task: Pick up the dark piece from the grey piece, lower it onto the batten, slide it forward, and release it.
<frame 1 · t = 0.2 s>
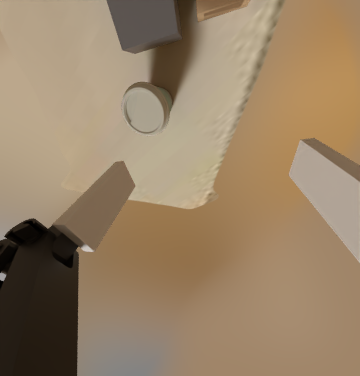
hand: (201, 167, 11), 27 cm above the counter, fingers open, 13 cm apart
coffee cup: (160, 102, 33), on the counter
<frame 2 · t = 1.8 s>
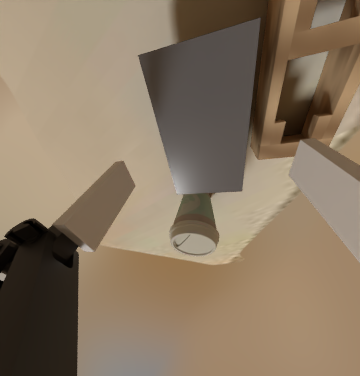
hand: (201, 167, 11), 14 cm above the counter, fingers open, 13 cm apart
coffee cup: (196, 195, 32), on the counter
batten: (305, 26, 14), on the counter
dark piece: (203, 118, 21), on the counter, touching grey piece
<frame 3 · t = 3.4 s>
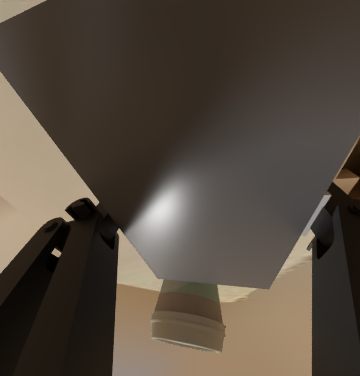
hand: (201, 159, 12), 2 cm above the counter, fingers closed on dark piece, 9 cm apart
coffee cup: (193, 239, 24), on the counter
dark piece: (201, 152, 13), on the counter, touching grey piece, gripper
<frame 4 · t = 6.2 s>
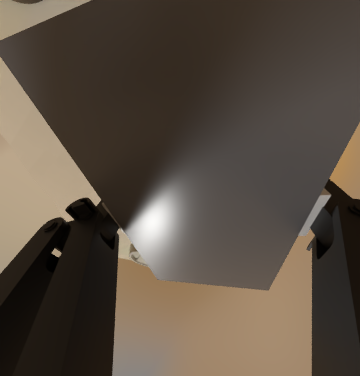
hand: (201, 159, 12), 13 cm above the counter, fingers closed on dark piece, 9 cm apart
coffee cup: (160, 215, 39), on the counter
dark piece: (202, 154, 14), point 11 cm above the counter, touching gripper
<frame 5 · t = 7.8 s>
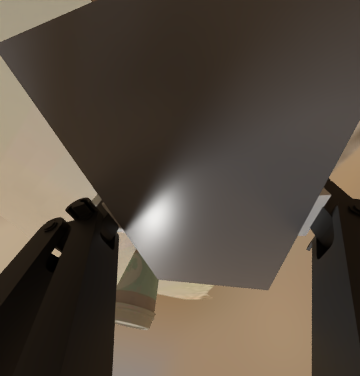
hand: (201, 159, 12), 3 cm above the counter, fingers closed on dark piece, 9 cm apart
coffee cup: (149, 250, 32), on the counter
dark piece: (202, 154, 14), point 1 cm above the counter, touching gripper
when the fingers open (3 cm above the counter, at t = 9.2 s): dark piece stays where it is, resting on batten.
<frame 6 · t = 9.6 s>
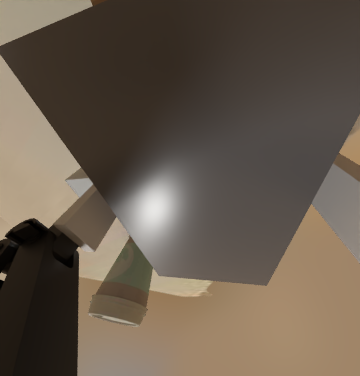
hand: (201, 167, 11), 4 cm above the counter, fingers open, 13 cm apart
grey piece: (121, 178, 19), on the counter
coffee cup: (143, 241, 29), on the counter
dark piece: (201, 152, 14), point 1 cm above the counter, touching batten
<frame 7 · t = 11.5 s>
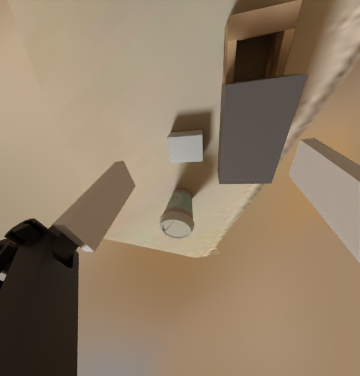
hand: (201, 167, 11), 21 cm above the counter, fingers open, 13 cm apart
grey piece: (187, 143, 32), on the counter
coffee cup: (182, 196, 42), on the counter
batten: (243, 102, 26), on the counter
dark piece: (240, 127, 27), point 1 cm above the counter, touching batten
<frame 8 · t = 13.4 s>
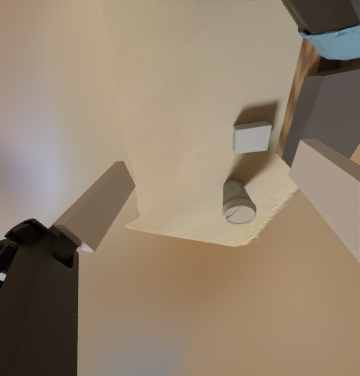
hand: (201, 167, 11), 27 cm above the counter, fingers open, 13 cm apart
grey piece: (248, 135, 34), on the counter
coffee cup: (232, 186, 45), on the counter
batten: (312, 91, 27), on the counter
dark piece: (307, 115, 29), point 1 cm above the counter, touching batten
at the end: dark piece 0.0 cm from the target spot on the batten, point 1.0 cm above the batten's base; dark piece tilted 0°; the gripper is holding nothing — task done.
